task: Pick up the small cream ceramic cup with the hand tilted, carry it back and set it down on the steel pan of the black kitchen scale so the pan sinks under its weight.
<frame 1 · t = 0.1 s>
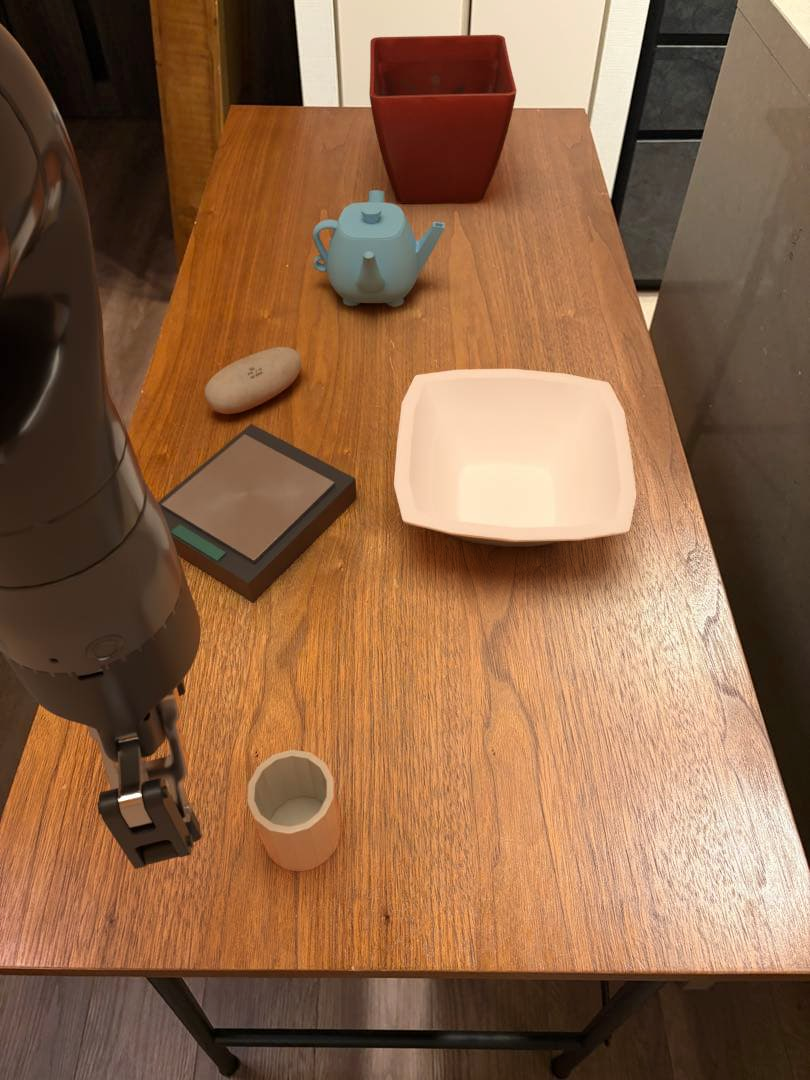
hand: (173, 762, 45), 22 cm above the table, tool pointing down, fingers open, 8 cm apart
stone: (257, 397, 97), on the table
scale pan: (249, 495, 83), point 3 cm above the table, slide at -0.3 cm
flower pot: (437, 183, 128), on the table
bowl: (505, 506, 87), on the table
cup: (301, 831, 65), on the table
scale: (254, 517, 86), on the table
teapot: (379, 289, 111), on the table
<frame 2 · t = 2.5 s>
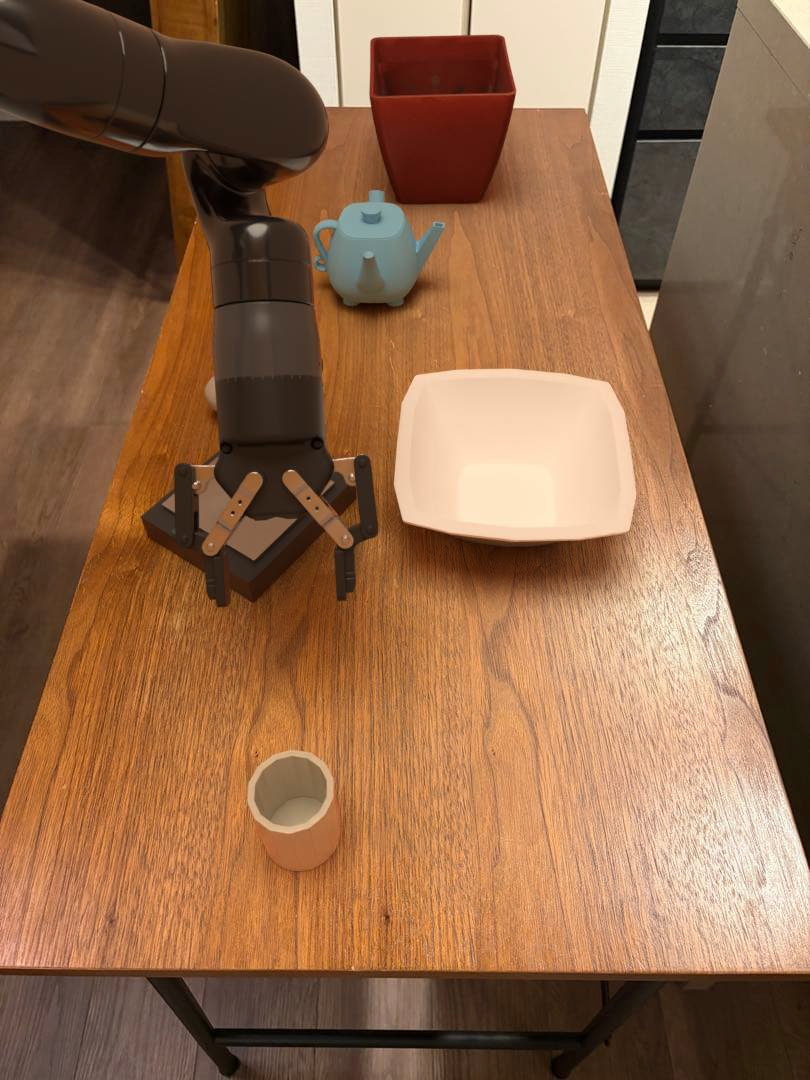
hand: (283, 602, 61), 15 cm above the table, tool tilted 45°, fingers open, 8 cm apart
nothing on the table moved.
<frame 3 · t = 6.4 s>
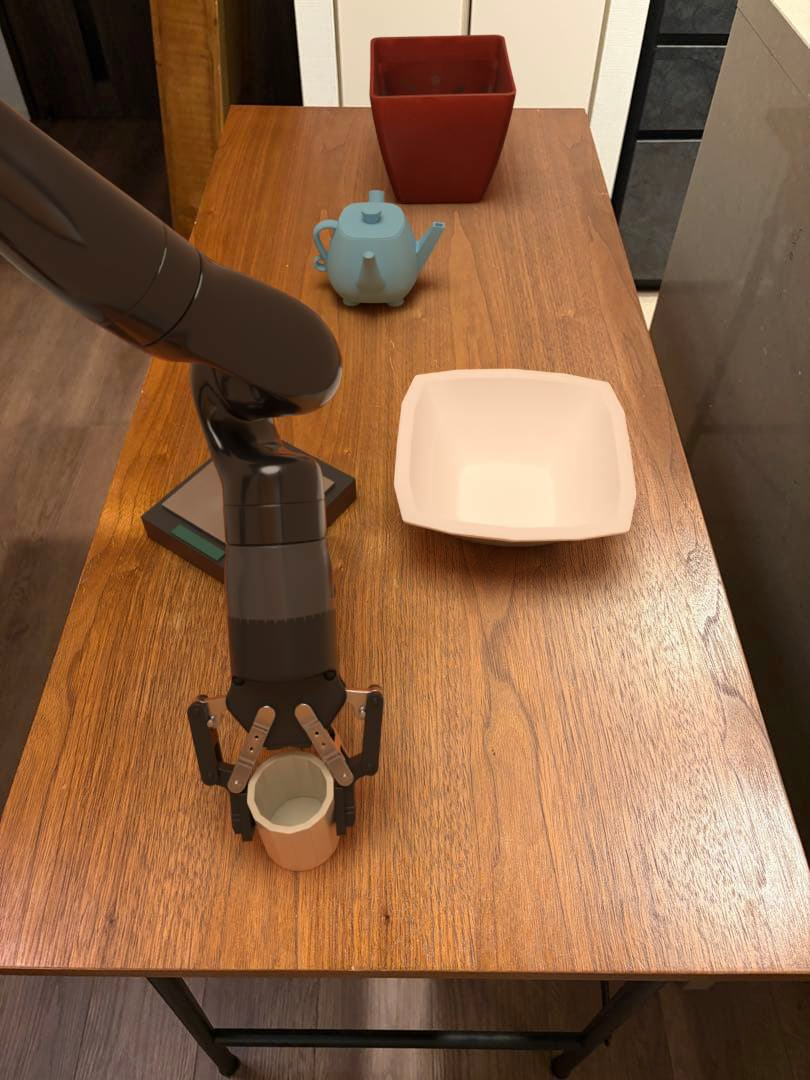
hand: (296, 833, 61), 4 cm above the table, tool tilted 45°, fingers closed on cup, 6 cm apart
cup: (301, 831, 65), on the table, touching gripper
everything else where it was.
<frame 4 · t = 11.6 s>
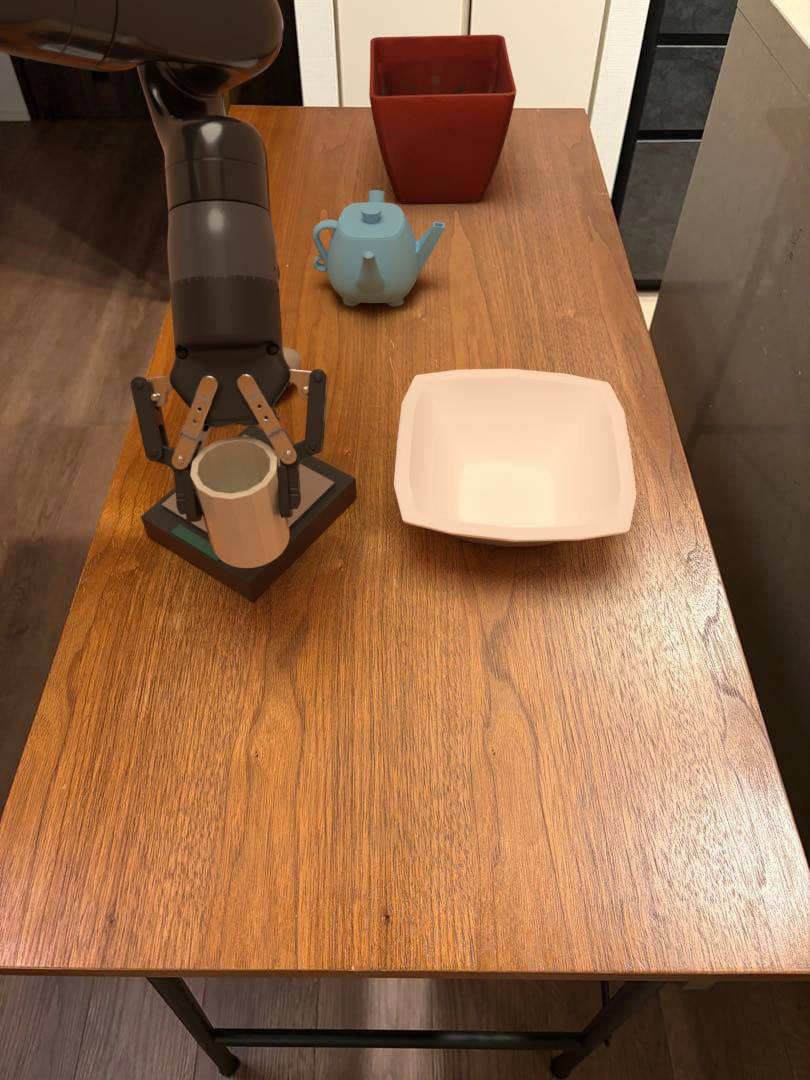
hand: (241, 518, 61), 18 cm above the table, tool tilted 45°, fingers closed on cup, 6 cm apart
cup: (250, 537, 66), point 14 cm above the table, touching gripper
everything else where it was.
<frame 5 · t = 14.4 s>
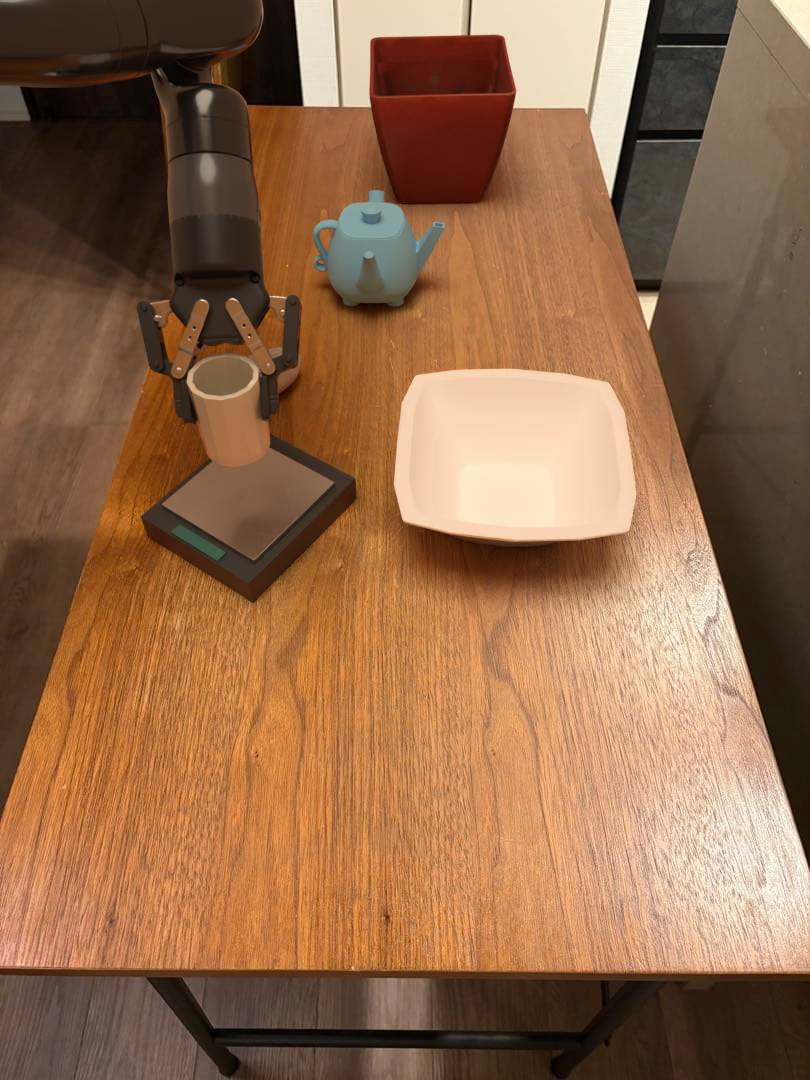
hand: (229, 421, 73), 15 cm above the table, tool tilted 45°, fingers closed on cup, 6 cm apart
cup: (237, 443, 78), point 10 cm above the table, touching gripper
everything else where it was.
when the fingers open (8 cm above the table, at t = 16.8 s): cup moves 2 cm, point 5 cm above the table.
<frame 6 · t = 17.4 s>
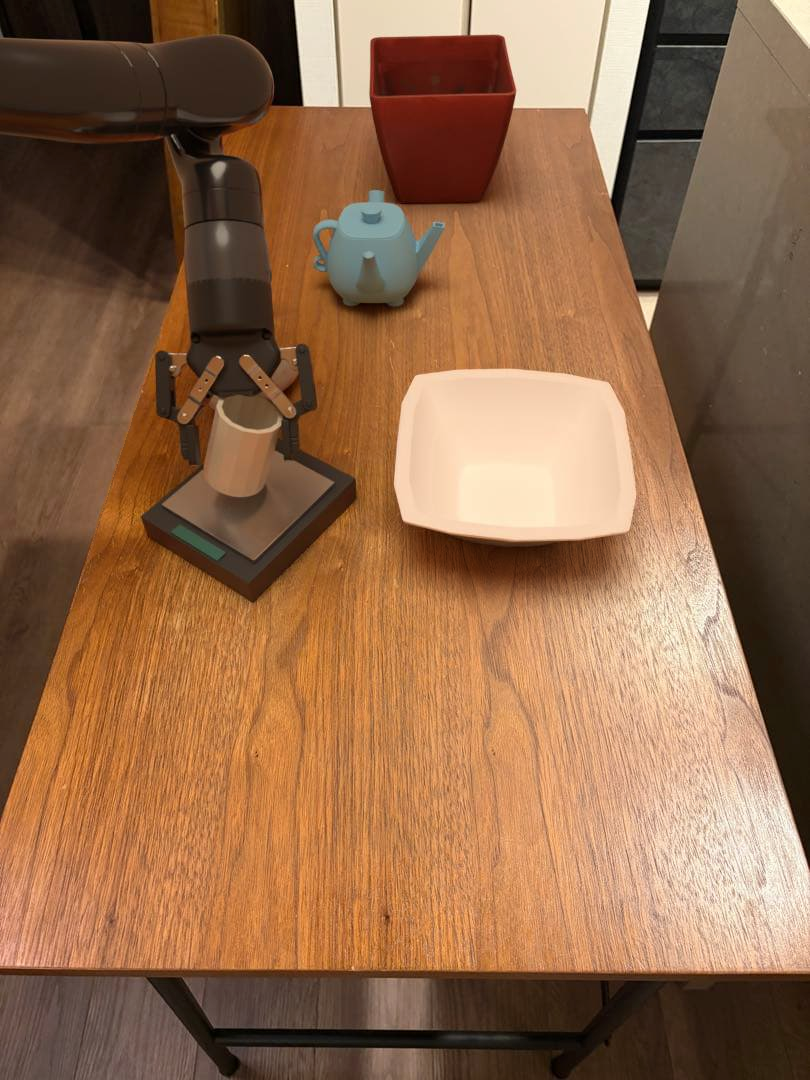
hand: (242, 463, 78), 9 cm above the table, tool tilted 45°, fingers open, 8 cm apart
scale pan: (249, 495, 83), point 3 cm above the table, slide at -0.3 cm, touching scale
cup: (234, 475, 82), point 5 cm above the table, tilted 20°, touching gripper
everything else where it was.
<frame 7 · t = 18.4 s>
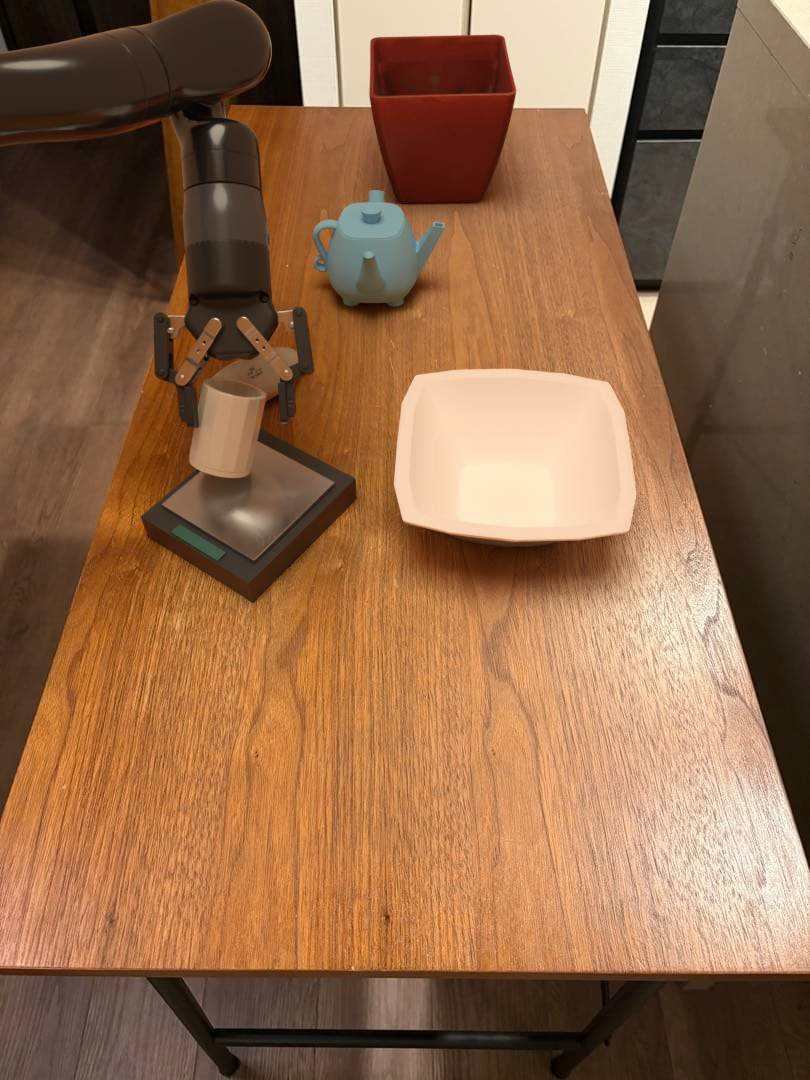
hand: (239, 425, 78), 11 cm above the table, tool tilted 45°, fingers open, 8 cm apart
scale pan: (249, 495, 83), point 3 cm above the table, slide at -0.3 cm, touching cup, scale
cup: (219, 466, 83), point 5 cm above the table, tilted 32°, touching gripper, scale pan
everything else where it was.
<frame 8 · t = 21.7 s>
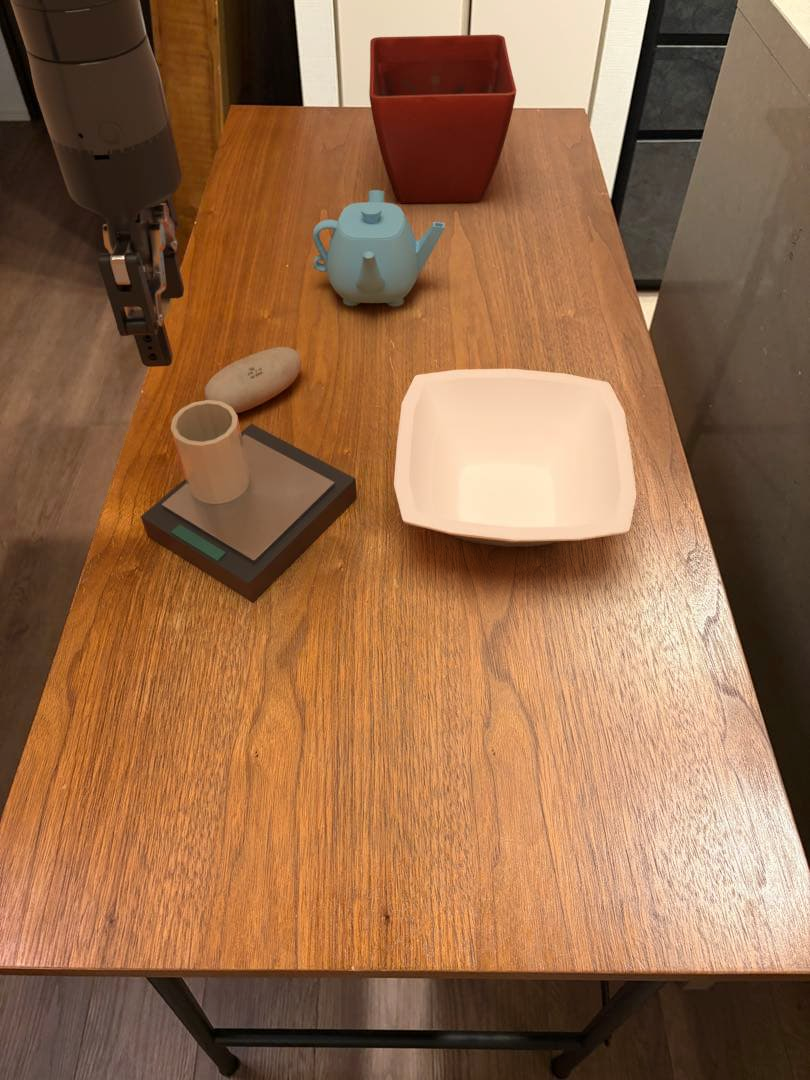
hand: (165, 328, 66), 24 cm above the table, tool pointing down, fingers open, 8 cm apart
cup: (219, 481, 84), point 4 cm above the table, touching scale pan
everything else where it was.
at the end: cup inside the target area on the scale (3.5 cm from its centre), point 3.6 cm above the scale's base; cup tilted 0°; scale pan slide at -0.3 cm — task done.
